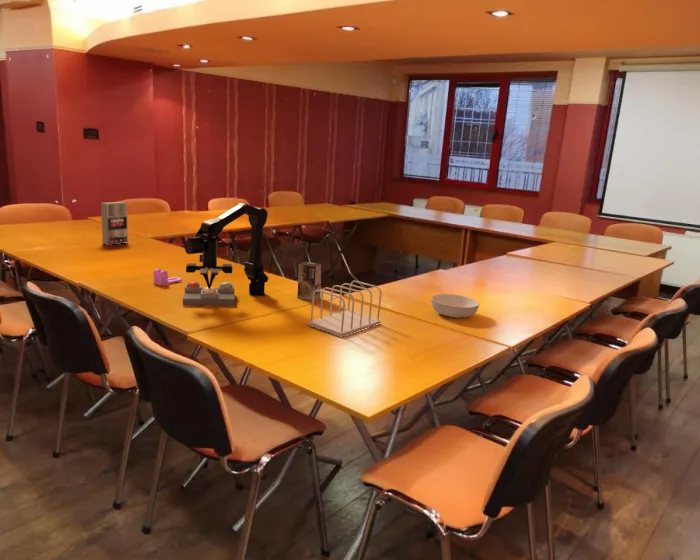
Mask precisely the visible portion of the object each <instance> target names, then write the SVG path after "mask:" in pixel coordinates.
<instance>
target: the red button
mask: <svg viewBox="0 0 700 560" xmlns="http://www.w3.org/2000/svg"><path fill="white" fill-rule="evenodd" d="M187 284H188V287H197V288H198V285H199V284H200V283H199V282H198V281H196V280H195V281H193V280H192V281H191V280H190V281H188V282H187Z"/></svg>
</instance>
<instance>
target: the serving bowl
mask: <svg viewBox="0 0 700 560" xmlns="http://www.w3.org/2000/svg"><path fill="white" fill-rule="evenodd" d="M430 303H431V305H432V309H434V310H435V311H436V312H437V313H438V314H441V315H442V314H443V316H445V315H446V316H445V317H447V316H451V317H464V318H469V317H471V316H474V314H476V313H477V311H478V310H479V307H480V303H479V301H477V300H476V299H475V298H471V297H468V296H464V295H461V294H460V295H459V294H452V293H439V294H434V295H432V296H431V298H430ZM451 317H450V318H451Z"/></svg>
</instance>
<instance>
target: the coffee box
mask: <svg viewBox="0 0 700 560" xmlns="http://www.w3.org/2000/svg"><path fill="white" fill-rule="evenodd" d="M322 273H323V264H322V263H316V262H310V261H303V262H300V263H298V274H297V275H298V276H297V277H298V278H297V299H301V300H306V299H307V301H311V300H312V297H313V292H314V291H315V290H321V291H322ZM317 299H318V300H319V299H320V300H321V292H318V291H317V292H315V294H314V302H315V301H317Z"/></svg>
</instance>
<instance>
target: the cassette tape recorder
mask: <svg viewBox="0 0 700 560" xmlns="http://www.w3.org/2000/svg"><path fill="white" fill-rule="evenodd" d="M100 205H101V208H100V209H101V233H102V242H101V244H102V243H103V244H107V245H106V246H108V245H110V246H113V245H112V244H117V243H124V242H129V238H128V235H129V234H128V207H127V205H128V202H125V201H113V202H111V201H108V202H101V203H100ZM103 244H102V245H103Z"/></svg>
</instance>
